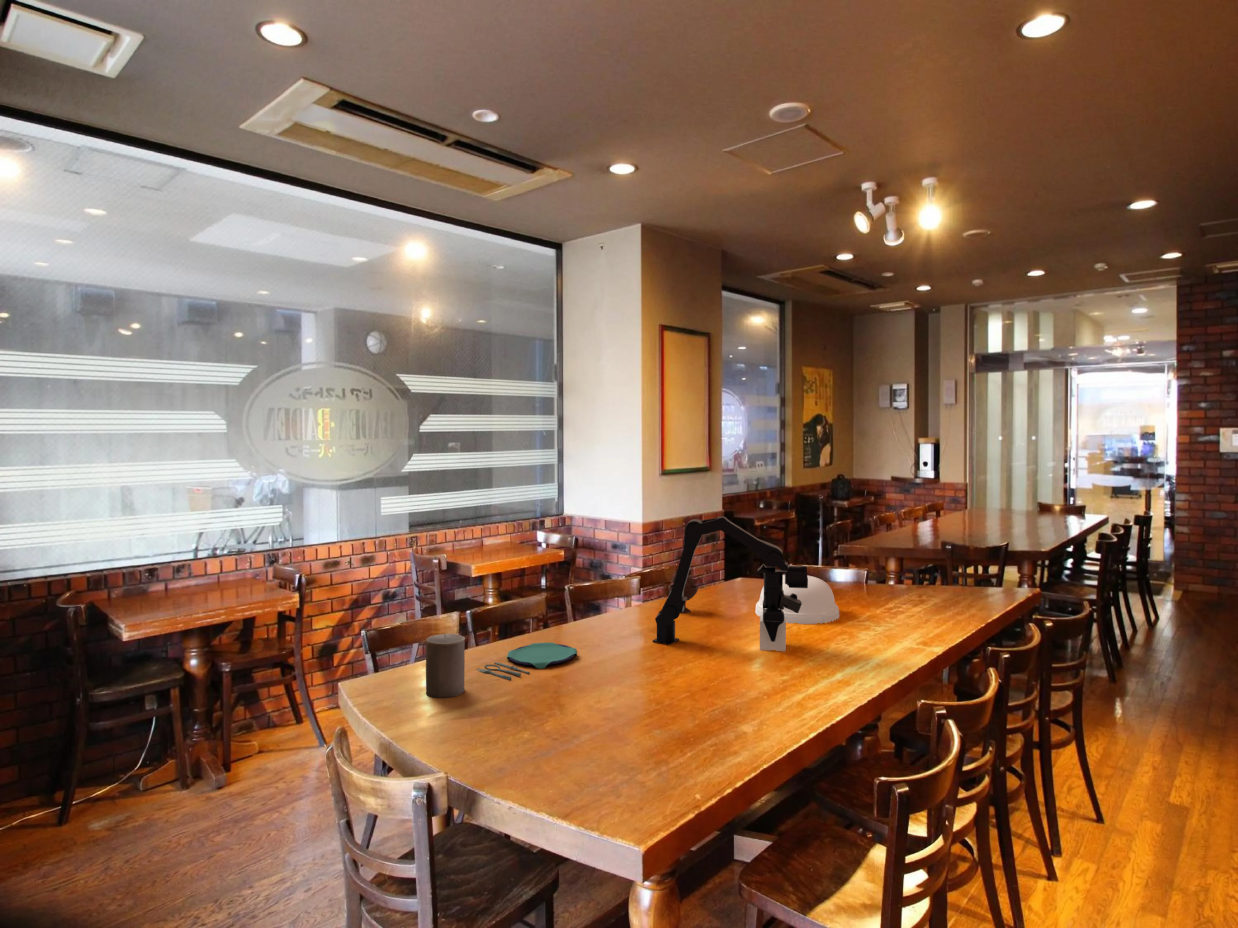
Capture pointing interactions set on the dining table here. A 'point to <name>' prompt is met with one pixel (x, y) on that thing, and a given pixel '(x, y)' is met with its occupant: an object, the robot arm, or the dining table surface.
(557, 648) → the cutlery set
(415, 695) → the dining table surface
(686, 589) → the ice cream bowl
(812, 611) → the dome cover
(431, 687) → the pillar candle
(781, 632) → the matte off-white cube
